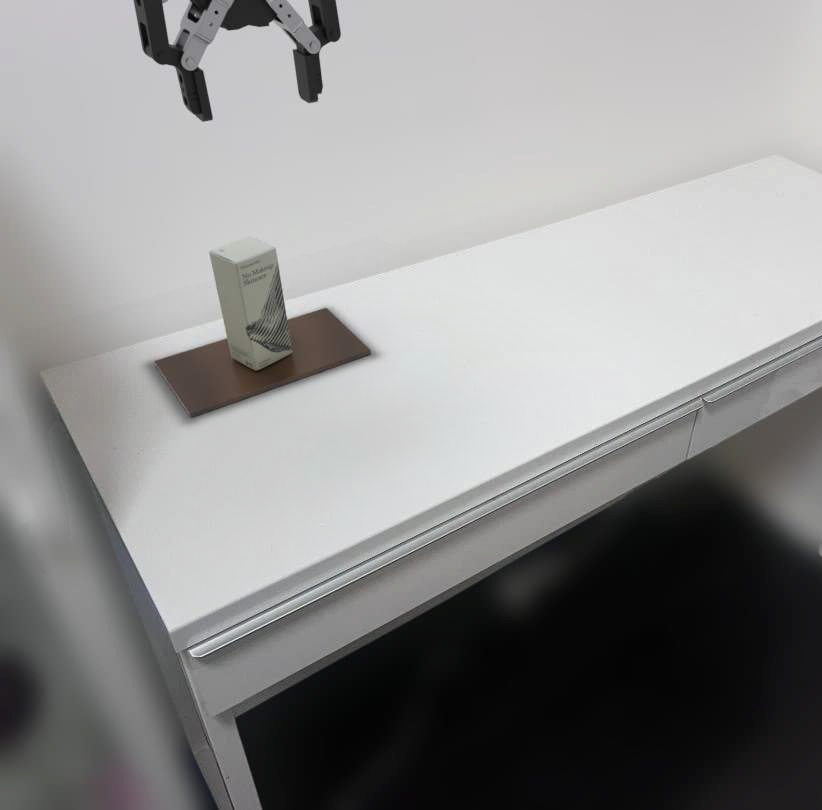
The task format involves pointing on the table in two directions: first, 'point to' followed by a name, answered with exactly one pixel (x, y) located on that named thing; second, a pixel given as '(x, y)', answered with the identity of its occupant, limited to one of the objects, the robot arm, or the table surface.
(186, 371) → the walnut board
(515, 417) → the table surface
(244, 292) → the box
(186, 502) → the table surface
